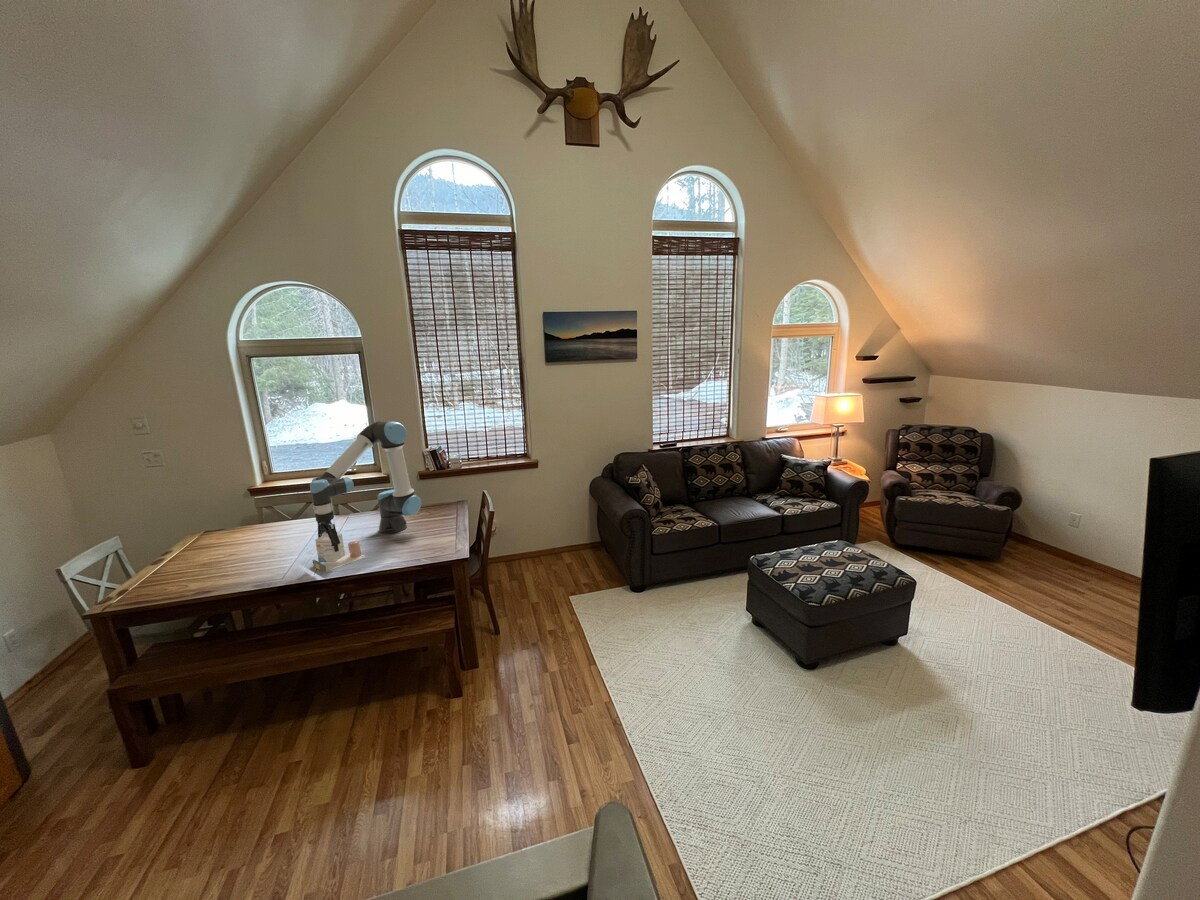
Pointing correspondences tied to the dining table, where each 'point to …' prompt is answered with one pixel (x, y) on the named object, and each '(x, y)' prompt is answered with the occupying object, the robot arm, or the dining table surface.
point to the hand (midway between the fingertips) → (331, 554)
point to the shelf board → (335, 563)
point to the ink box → (328, 548)
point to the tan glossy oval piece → (354, 549)
